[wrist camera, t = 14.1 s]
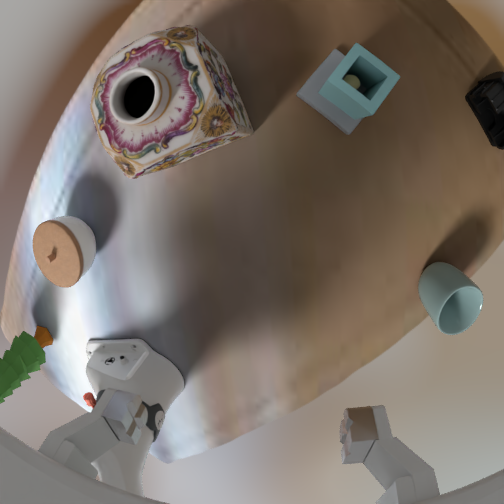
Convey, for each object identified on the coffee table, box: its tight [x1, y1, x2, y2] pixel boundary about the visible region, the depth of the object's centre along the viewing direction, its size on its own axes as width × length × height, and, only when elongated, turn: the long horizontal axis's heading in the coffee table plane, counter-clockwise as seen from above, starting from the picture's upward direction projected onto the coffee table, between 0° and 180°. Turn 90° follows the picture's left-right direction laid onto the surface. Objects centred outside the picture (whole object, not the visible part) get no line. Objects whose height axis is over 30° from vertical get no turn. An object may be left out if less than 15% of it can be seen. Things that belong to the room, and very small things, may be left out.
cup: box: [418, 262, 483, 335], centre depth 35 cm, size 8×8×10 cm
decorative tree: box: [0, 326, 53, 403], centre depth 41 cm, size 10×9×30 cm
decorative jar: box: [90, 25, 254, 179], centre depth 26 cm, size 12×12×18 cm
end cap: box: [465, 72, 504, 149], centre depth 25 cm, size 10×7×7 cm
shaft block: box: [296, 49, 367, 135], centre depth 29 cm, size 8×8×7 cm
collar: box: [318, 43, 400, 120], centre depth 26 cm, size 5×5×8 cm
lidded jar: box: [33, 216, 96, 287], centre depth 39 cm, size 11×11×9 cm
